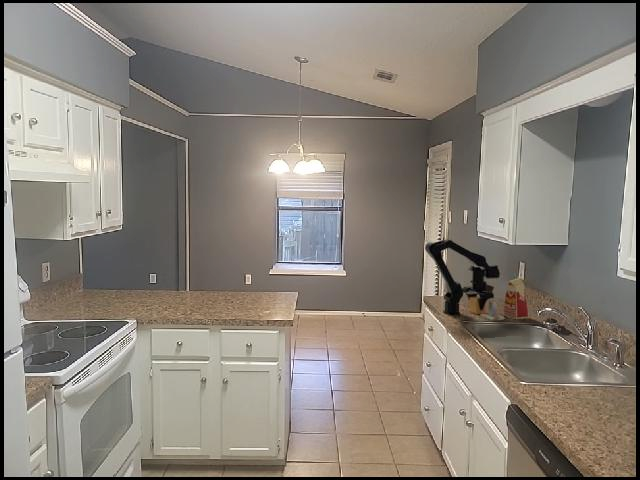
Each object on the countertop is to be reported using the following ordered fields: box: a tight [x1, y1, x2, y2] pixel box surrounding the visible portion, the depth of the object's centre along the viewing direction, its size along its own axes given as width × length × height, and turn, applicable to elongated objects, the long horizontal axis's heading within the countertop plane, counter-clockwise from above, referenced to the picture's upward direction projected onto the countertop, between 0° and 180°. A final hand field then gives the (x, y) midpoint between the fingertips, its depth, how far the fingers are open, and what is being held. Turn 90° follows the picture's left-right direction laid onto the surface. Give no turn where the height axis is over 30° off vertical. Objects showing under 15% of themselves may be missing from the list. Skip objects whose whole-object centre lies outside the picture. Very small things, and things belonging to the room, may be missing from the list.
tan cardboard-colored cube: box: [469, 295, 487, 315], centre depth 245 cm, size 6×6×8 cm
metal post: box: [488, 301, 498, 316], centre depth 234 cm, size 3×3×6 cm
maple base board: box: [480, 312, 506, 322], centre depth 234 cm, size 7×9×1 cm
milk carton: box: [503, 276, 530, 320], centre depth 235 cm, size 9×9×20 cm
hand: (477, 308), depth 245 cm, fingers open, 6 cm apart
